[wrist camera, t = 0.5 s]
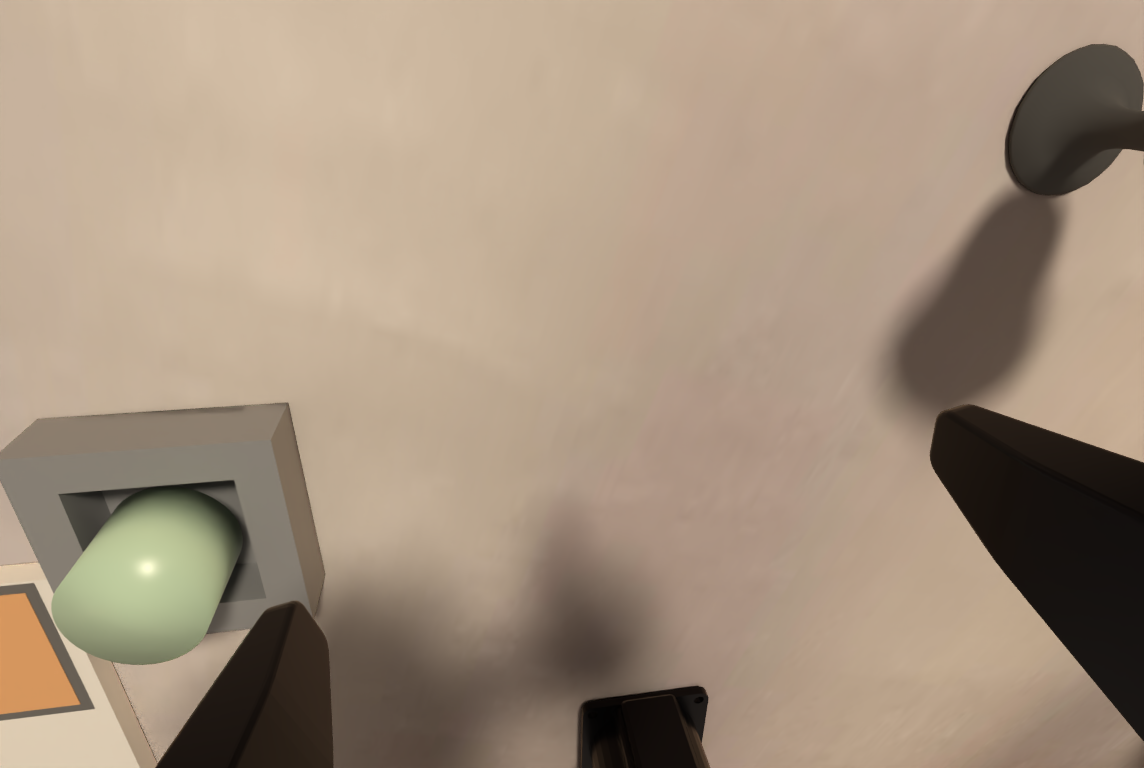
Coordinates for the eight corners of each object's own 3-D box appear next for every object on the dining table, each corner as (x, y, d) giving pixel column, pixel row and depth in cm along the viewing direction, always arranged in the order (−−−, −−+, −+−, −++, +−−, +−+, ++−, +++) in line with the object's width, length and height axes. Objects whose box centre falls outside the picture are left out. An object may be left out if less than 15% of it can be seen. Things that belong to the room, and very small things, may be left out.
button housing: (324, 574, 27) (313, 621, 24) (111, 596, 26) (79, 648, 23) (288, 402, 23) (270, 440, 21) (37, 419, 22) (-10, 460, 20)
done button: (254, 575, 24) (223, 655, 21) (129, 588, 23) (79, 672, 20) (227, 481, 22) (189, 553, 19) (91, 492, 21) (28, 569, 18)
